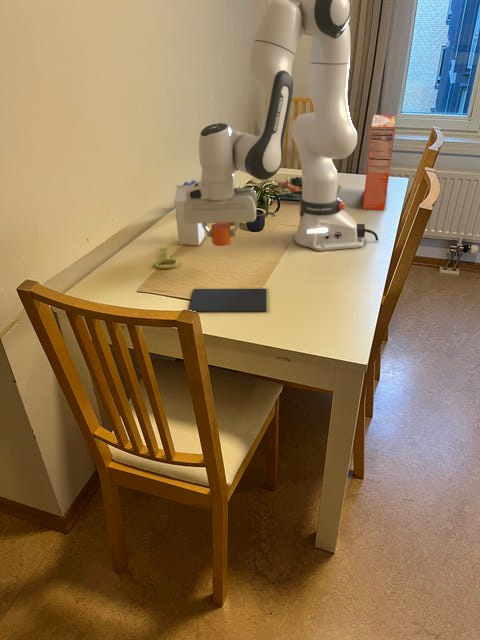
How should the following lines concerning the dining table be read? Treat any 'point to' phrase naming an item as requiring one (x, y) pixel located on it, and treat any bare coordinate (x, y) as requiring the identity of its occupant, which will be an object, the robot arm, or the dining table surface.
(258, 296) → the mat
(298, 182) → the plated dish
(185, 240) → the milk carton
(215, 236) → the cylinder
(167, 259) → the key
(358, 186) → the dining table surface
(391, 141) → the red cereal box
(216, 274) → the dining table surface
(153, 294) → the dining table surface
